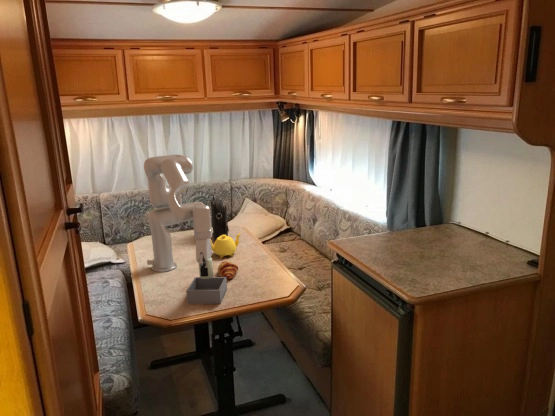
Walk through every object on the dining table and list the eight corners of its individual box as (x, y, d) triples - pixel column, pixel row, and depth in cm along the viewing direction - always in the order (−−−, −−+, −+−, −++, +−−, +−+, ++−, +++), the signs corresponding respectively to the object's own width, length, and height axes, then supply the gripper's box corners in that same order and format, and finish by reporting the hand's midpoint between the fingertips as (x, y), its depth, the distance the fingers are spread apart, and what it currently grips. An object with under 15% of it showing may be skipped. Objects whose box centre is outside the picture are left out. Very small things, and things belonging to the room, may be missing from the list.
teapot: (238, 247, 267) (236, 228, 264) (245, 255, 253) (244, 235, 250) (204, 252, 260) (202, 233, 257) (210, 261, 246) (208, 241, 244)
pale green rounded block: (198, 278, 199) (196, 261, 197) (201, 273, 205) (200, 256, 203) (211, 278, 198) (210, 261, 197) (214, 273, 204) (213, 256, 202)
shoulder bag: (210, 232, 297) (207, 190, 290) (224, 231, 299) (221, 189, 292) (215, 243, 276) (212, 198, 269) (230, 241, 278) (227, 196, 271)
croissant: (222, 272, 240) (214, 260, 237) (238, 262, 240) (230, 250, 238) (223, 288, 219) (214, 275, 217) (241, 277, 219) (232, 264, 217)
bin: (187, 303, 198) (186, 290, 196) (196, 289, 212) (194, 277, 210) (220, 303, 196) (219, 290, 195) (227, 289, 211) (226, 277, 209)
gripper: (199, 228, 206) (202, 266, 210) (189, 240, 189) (192, 281, 193) (215, 228, 205) (218, 266, 209) (207, 240, 188) (210, 281, 193)
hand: (206, 272), depth 201 cm, fingers closed on pale green rounded block, 6 cm apart
